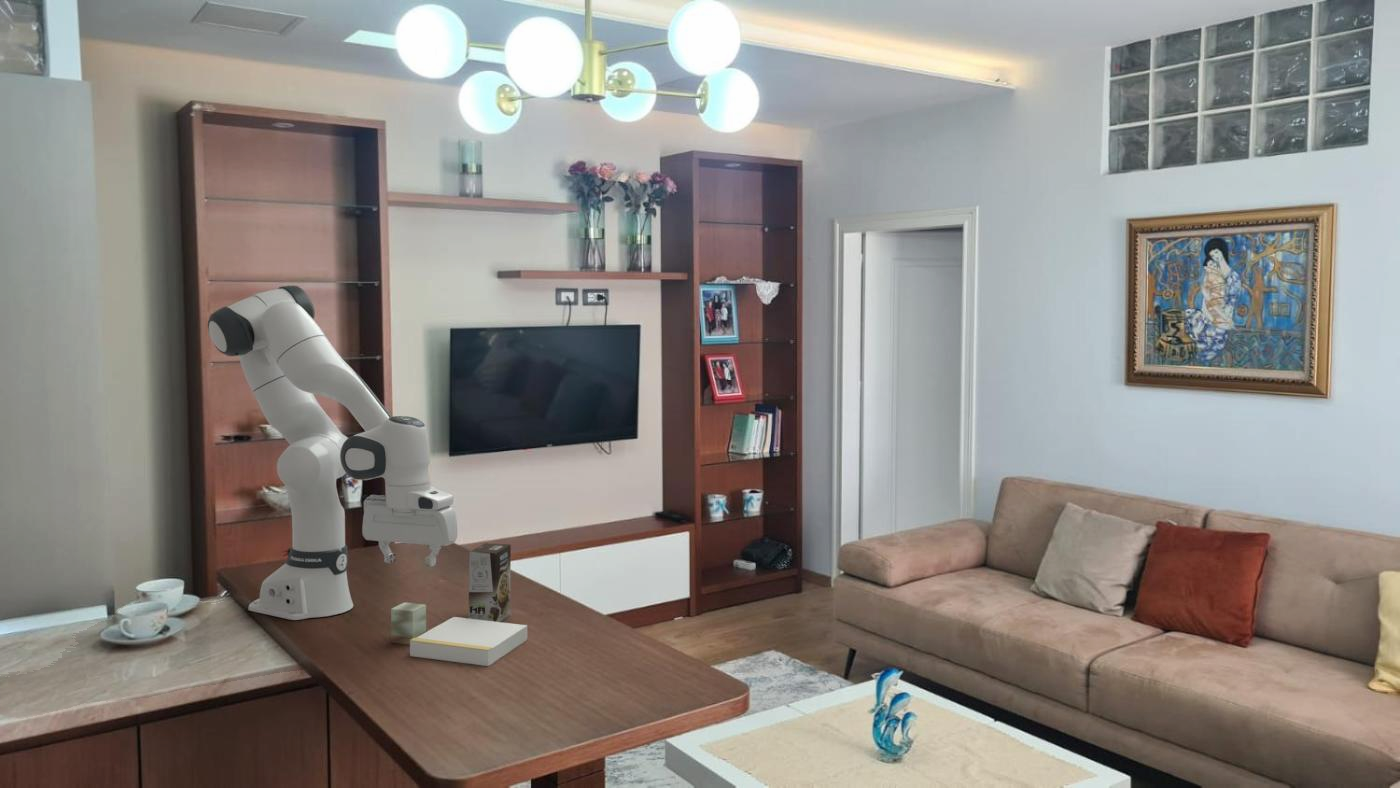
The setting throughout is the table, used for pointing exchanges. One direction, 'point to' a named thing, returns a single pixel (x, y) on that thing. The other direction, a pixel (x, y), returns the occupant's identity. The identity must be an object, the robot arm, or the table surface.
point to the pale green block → (407, 622)
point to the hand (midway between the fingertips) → (410, 563)
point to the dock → (468, 641)
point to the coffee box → (489, 582)
